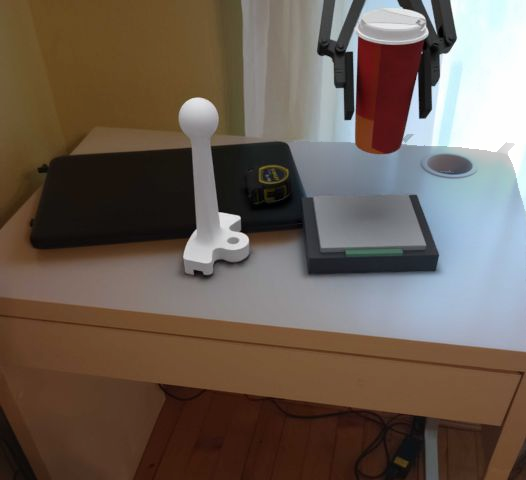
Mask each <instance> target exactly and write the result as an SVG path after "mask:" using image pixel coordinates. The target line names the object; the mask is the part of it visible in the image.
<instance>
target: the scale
mask: <svg viewBox="0 0 526 480" xmlns="http://www.w3.org/2000/svg"><path fill="white" fill-rule="evenodd" d="M301 205H302V209H301V208H300V215H301V216H300V217H301V222H302V224H301V225H302V232H303V233H302V234H303V240H304V249H305V258H306V266H307V273H308V275H309V274H310V275H311V274H345V273H346V274H348V273H349V274H351V273H385V272H386V273H388V272H389V273H390V272H391V273H392V272H425V271H426V272H427V271H436V270H437V266H438V263H439V258H440V254H439V250H438V248H437V245H436V242H435V239H434V236H433V234H432V232H431V229H430V227H429V223H428V221H427V219H426V216H425V212H424V210H423V207H422V204H421V202H420V199H419V197H418V194H409V193H392V194H391V193H384V194H382V193H381V194H347V195H346V194H344V195H340V194H339V195H313V196H310V197H304V196H303V197H301V201H300V206H301ZM302 212H303V217H302Z"/></svg>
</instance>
